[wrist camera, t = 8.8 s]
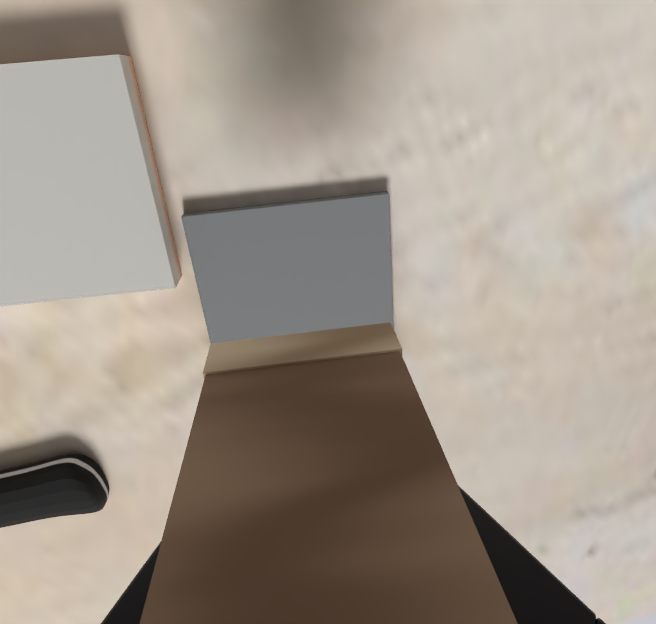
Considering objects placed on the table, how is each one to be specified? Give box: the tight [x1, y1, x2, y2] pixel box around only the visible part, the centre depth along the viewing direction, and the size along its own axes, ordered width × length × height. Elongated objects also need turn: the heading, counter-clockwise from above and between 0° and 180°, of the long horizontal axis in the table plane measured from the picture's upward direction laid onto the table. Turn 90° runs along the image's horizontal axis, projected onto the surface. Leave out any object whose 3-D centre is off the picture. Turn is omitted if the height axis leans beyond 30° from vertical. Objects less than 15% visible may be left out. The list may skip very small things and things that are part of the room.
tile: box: [0, 54, 182, 306], centre depth 15 cm, size 7×2×7 cm
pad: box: [182, 191, 393, 344], centre depth 18 cm, size 7×7×1 cm
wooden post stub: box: [140, 322, 518, 624], centre depth 8 cm, size 4×4×9 cm
